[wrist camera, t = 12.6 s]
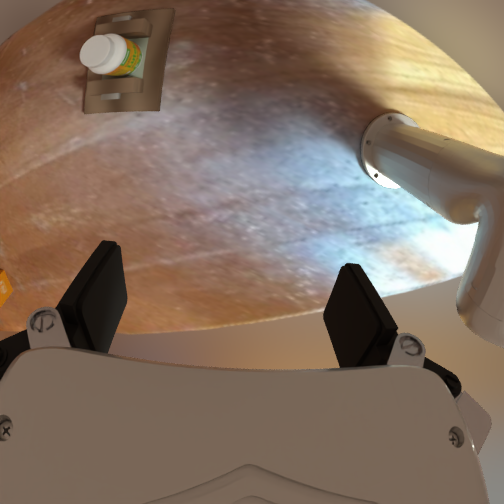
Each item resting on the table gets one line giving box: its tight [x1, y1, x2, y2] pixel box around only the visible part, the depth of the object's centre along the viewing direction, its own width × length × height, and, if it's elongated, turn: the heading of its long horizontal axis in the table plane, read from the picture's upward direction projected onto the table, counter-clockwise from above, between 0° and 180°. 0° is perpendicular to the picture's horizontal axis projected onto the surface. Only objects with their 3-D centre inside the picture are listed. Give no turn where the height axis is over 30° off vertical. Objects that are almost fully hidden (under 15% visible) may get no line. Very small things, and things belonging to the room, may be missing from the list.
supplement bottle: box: [80, 34, 143, 77], centre depth 23 cm, size 5×5×10 cm
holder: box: [84, 8, 175, 114], centre depth 26 cm, size 12×16×5 cm
